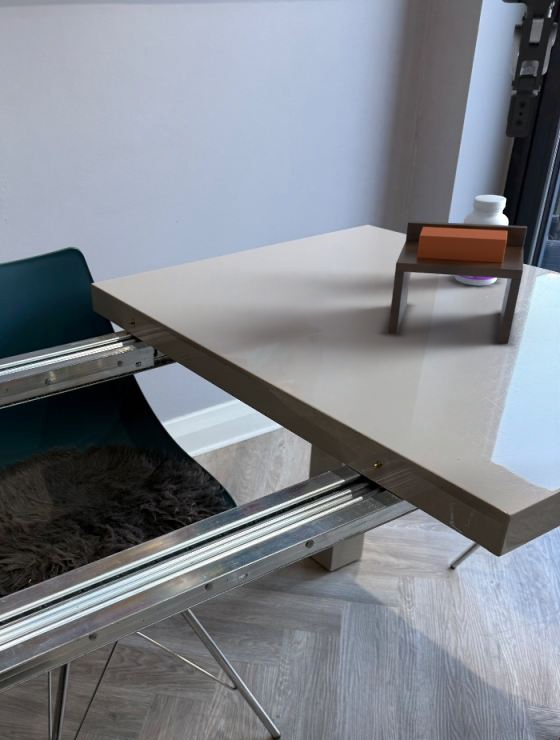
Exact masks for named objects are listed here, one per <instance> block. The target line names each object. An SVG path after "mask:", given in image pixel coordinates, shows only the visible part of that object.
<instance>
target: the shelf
mask: <svg viewBox="0 0 560 740" xmlns="http://www.w3.org/2000/svg"><path fill="white" fill-rule="evenodd" d="M423 227H435V228H457V229H478V230H500V231H507V242H506V247H505V252H504V257H503V262H502V263H498V262H481V261H464V260H447V259H429V258H417V253H418V245H419V237H420V234H421V231H422V229H423ZM527 231H528V226H527V225H509V224H508V225H486V224H464V222H463V223H462V222H458V223H456V222H439V221H419V220H418V221H417V220H408V222H407V227H406V234H405V242H404V244H403V246H402V248H401V251H400V253H399V255H398V258H397V260H396V262H395V269H394V277H393V286H392V294H391V304H390V313H389V320H388V330H387V333H388V334H395V335H397V333H398V331H399V328H400V325H401V322H402V319H403V316H404V314H405V311H406V307H407V304H408V296H409V289H410V281H411V273H414V274H415V273H417V274H432V275H448V276H455V275H461V276H476V277H492V278H497V279H506V284H505V289H504V294H503V298H502V299H503V300H502V304H501V309H500V317H499V318H500V319H499V333H498V343H499V344H509V341H510V337H511V336H510V335H511V331H512V328H513V327H512V326H513V322H514V316H515V312H516V307H517V303H518V297H519V292H520V288H521V282H522V278H523V272H524V245H525V240H526V236H527Z"/></svg>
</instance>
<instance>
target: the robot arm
mask: <svg viewBox="0 0 560 740" xmlns="http://www.w3.org/2000/svg"><path fill="white" fill-rule="evenodd" d="M501 1H502V2H503V3H504V4H505V3H506V4H524V6H526V10H525V12H524V14H523V15H522V17H521V23H515V24H514V29H513V34H512V41H511V46H512V48H513V49H512V55H511V62H510V68H509V73H510V75H512V77H511V84H510V90H509V92H510V93H511V94H510V101H509V105H508V111H507V112H508V113H507V117H506V121H507V122H506V126H505V135H506V137H507V138H525V137H527V136H528V135H529V133H530V128H531V122H532V118H533V114H534V113H533V112H534V107H535V102H536V97H537V96H538V94H539V92H541V87H542V85H543V80H542V77H543V75H545V74H546V73H547V71H548V67H549V63H550V58H551V51H552V47H553V46H554V44H555V40H556V37H557V32H558V28H559V27H558V26H559V24H558V22H554V21H553V16H552V11H553V8H554V6H555V5H556V4H557V3H559V2H560V0H501Z"/></svg>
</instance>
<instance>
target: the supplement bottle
mask: <svg viewBox="0 0 560 740" xmlns="http://www.w3.org/2000/svg"><path fill="white" fill-rule="evenodd" d="M506 202H507V198H506V197H504V196H502V195H496V194H480V195H476V196H474V198H473V204H472V206H473V212H470V213H469V214H467V215H466V216H465V217H464V220H463V223H464V224H486V225H508V226H509V218H508V217H507V216H506V215H505V214H503V210H504V209H505V208H506ZM454 278H455V280H456V281H457V282H458V283H462V284H465V285H469V286H479V287H480V286H488V285H492V284H494V283H495V282H496V281H497V279H498V278H492V277H476V276H461V275H454Z"/></svg>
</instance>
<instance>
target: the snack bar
mask: <svg viewBox="0 0 560 740" xmlns="http://www.w3.org/2000/svg"><path fill="white" fill-rule="evenodd" d="M506 242H507V231H500V230H478V229H457V228H435V227H423V229H422V231H421V234H420V237H419V245H418V253H417V258H429V259H447V260H464V261H481V262H498V263H502V262H503V257H504V252H505V247H506Z"/></svg>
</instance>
